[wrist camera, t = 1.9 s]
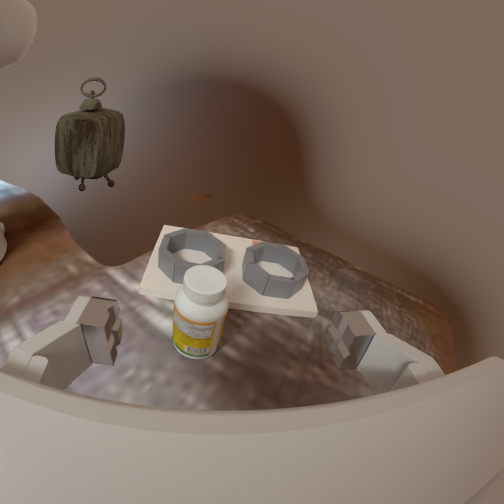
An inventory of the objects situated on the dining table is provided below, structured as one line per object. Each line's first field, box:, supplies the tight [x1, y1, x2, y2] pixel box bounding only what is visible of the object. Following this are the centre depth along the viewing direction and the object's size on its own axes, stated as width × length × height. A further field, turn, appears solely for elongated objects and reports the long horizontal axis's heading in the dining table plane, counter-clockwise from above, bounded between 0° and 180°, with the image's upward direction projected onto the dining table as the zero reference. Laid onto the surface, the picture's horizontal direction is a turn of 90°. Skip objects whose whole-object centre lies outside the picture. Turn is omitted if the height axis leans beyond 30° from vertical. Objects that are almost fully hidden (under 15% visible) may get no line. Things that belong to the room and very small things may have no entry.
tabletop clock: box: [55, 78, 125, 191], centre depth 47 cm, size 14×9×25 cm, turn 84°
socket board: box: [139, 225, 318, 318], centre depth 41 cm, size 24×16×4 cm, turn 93°
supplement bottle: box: [173, 265, 229, 359], centre depth 28 cm, size 5×5×10 cm
